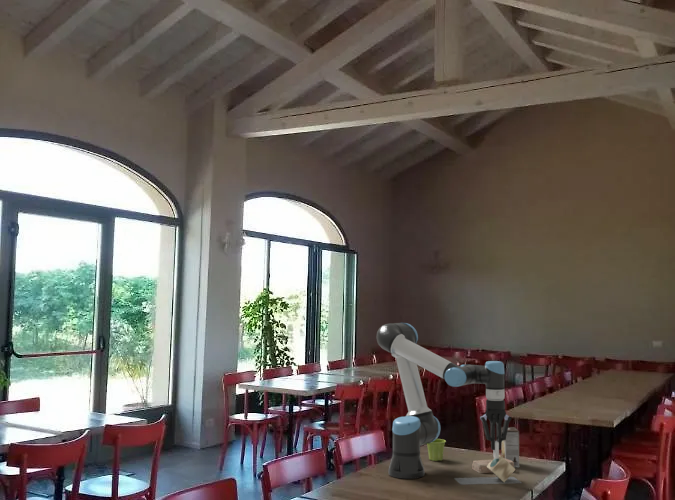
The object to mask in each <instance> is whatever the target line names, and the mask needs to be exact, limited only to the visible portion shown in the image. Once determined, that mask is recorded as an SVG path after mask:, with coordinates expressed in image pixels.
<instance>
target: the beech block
mask: <svg viewBox="0 0 675 500" xmlns="http://www.w3.org/2000/svg"><path fill="white" fill-rule="evenodd" d="M491 460H492V461H491V462H490V463H489V464H488V465H487V466H486V467H487V468H488V469H490V470H491V471H492V472H491V473H493V475H495V477H498V478H499V479H500V480H502V481H503V482H505V481H506V480H507V479H508V478H509V477H511V475H512V474H513V473H514V472H515V471H516V469H517V468H516V467H513V466H512V465H511V464H510V463H508V462H507V461H506V460H505V459H504V458H503V457H502V455H500V454H499V459H495V458H494V457H493V459H491Z"/></svg>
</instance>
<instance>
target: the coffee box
mask: <svg viewBox="0 0 675 500" xmlns="http://www.w3.org/2000/svg"><path fill="white" fill-rule="evenodd" d="M502 430H503V426H501V435H502ZM501 456H502V457H503V458H505V459H508V460H511V461H513V462H514V468H520V430H519V429H517V428H516V427H515V426H510V427H509V426H508V430H507V435H506V439H505V440H503V441H502V442H501Z"/></svg>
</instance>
